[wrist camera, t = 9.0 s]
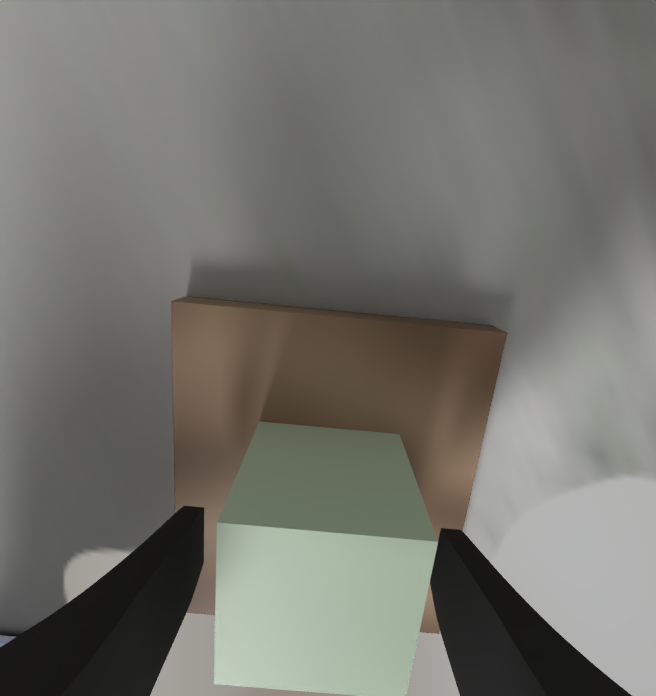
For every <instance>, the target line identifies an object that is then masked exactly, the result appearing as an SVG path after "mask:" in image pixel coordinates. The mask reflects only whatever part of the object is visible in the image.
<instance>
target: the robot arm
mask: <svg viewBox="0 0 656 696" xmlns="http://www.w3.org/2000/svg"><path fill="white" fill-rule="evenodd" d="M203 564H204V507H194V506H183V507H182V508H180V509H179V510H178V511H177V512H176V513H175V514H174V515H173V516H172V517H171V518H170V519H169V520H167V521H166V522H165V523H164V524H163V525H162V526H161V527H160V528H159V529H158V530H157V531H156V532H154V533H153V534H152V535H151V536H150V537H149V538H148V539H147V540H146V541H145V542H143V543H142V544H141V545H140V546H139V547H138V548H137V549H135V550H134V551H133V552H132V553H131V554H130V555H129V556H127V557H126V558H125V559H124V560H123V561H122V562H120V563H119V564H118V565H117V566H115V567H114V568H113V569H112V570H110V571H109V572H108V573H107V574H106V575H104V576H103V577H102V578H100V579H99V580H98V581H97V582H96V583H94V584H93V585H92V586H90V587H89V588H88V589H86V590H85V591H84V592H83V593H81V594H80V595H78V596H77V597H76V598H74V599H73V600H72V601H70V602H69V603H67V604H66V605H65V606H63V607H62V608H60V609H59V610H57V611H56V612H55V613H53V614H52V615H50V616H49V617H47V618H46V619H44V620H43V621H41V622H39V623H38V624H36V625H35V626H33V627H31V628H30V629H28V630H27V631H25V632H24V633H22V634H20V635H19V636H17V637H15V636H3V635H0V696H150V694H151V692H152V689H153V687H154V685H155V682H156V680H157V678H158V676H159V673H160V671H161V669H162V666H163V664H164V662H165V660H166V657H167V655H168V653H169V651H170V648H171V646H172V644H173V642H174V639H175V637H176V635H177V633H178V630H179V628H180V626H181V623H182V621H183V619H184V616H185V614H186V612H187V610H188V608H189V605H190V603H191V601H192V598H193V595H194V592H195V589H196V586H197V583H198V580H199V576H200V573H201V570H202V567H203ZM430 586H431V591H432V597H433V602H434V607H435V612H436V617H437V621H438V625H439V628H440V631H441V635H442V638H443V641H444V645H445V648H446V651H447V654H448V658H449V661H450V664H451V668H452V671H453V674H454V677H455V680H456V684H457V687H458V690H459V693H460V696H631V695H630V694H629V693H628V692H627V691H625V690H624V689H623V688H621V687H620V686H619V685H618V684H616V683H615V682H614V681H613V680H611V679H610V678H609V677H608V676H607V675H605V674H604V673H603V672H602V671H601V670H599V669H598V668H597V667H596V666H595V665H593V664H592V663H591V662H590V661H589V660H587V659H586V658H585V657H584V656H583V655H582V654H581V653H580V652H579V651H577V650H576V649H575V648H574V647H573V646H572V645H571V644H570V643H568V642H567V641H566V640H565V639H564V638H563V637H562V636H561V635H560V634H559V633H558V632H556V631H555V630H554V629H553V628H552V627H551V626H550V625H549V624H548V623H547V622H546V621H545V620H544V619H543V618H542V617H541V616H540V615H539V614H538V613H537V612H536V611H535V610H534V609H533V608H532V607H531V606H530V605H529V604H528V603H527V602H526V601H525V600H524V599H523V598H522V597H521V596H520V595H519V594H518V593H517V592H516V591H515V589H514V588H513V587H512V586H511V585H510V584H509V583H508V582H507V581H506V580H505V579H504V578H503V577H502V575H501V574H500V573H499V572H498V571H497V570H496V569H495V568H494V567H493V565H492V564H491V563H490V562H489V561H488V560H487V559H486V558H485V556H484V555H483V554H482V553H481V552H480V551H479V550H478V548H477V547H476V546H475V545H474V544H473V543H472V542H471V540H470V539H469V538H468V537H467V536H466V535H465V534H464V533H463V531H462V530H459V529H447V528H441V530H440V535H439V540H438V545H437V550H436V554H435V559H434V564H433V569H432V574H431V578H430Z"/></svg>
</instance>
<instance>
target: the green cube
mask: <svg viewBox="0 0 656 696" xmlns="http://www.w3.org/2000/svg"><path fill="white" fill-rule="evenodd" d="M437 545H438V540H437V537H436V534H435V532H434V529H433V526H432V523H431V520H430V518H429V515H428V512H427V509H426V506H425V504H424V501H423V498H422V495H421V493H420V490H419V487H418V484H417V481H416V479H415V476H414V473H413V470H412V467H411V465H410V462H409V459H408V456H407V453H406V451H405V448H404V445H403V442H402V439H401V437H400V434H392V433H381V432H370V431H359V430H348V429H337V428H326V427H315V426H304V425H293V424H282V423H271V422H260V421H259V423H258V425H257V428H256V430H255V433H254V435H253V437H252V440H251V442H250V445H249V447H248V449H247V452H246V454H245V457H244V459H243V461H242V464H241V466H240V468H239V471H238V473H237V476H236V478H235V480H234V483H233V485H232V488H231V490H230V492H229V495H228V497H227V500H226V502H225V504H224V507H223V509H222V512H221V514H220V516H219V519H218V521H217V544H216V598H215V652H214V684H221V685H233V686H245V687H258V688H270V689H282V690H296V691H307V692H321V693H332V694H345V695H356V696H406V693H407V689H408V684H409V679H410V674H411V669H412V665H413V660H414V655H415V650H416V646H417V641H418V635H419V631H420V626H421V622H422V617H423V612H424V607H425V602H426V598H427V593H428V588H429V583H430V578H431V574H432V569H433V564H434V559H435V554H436V550H437Z"/></svg>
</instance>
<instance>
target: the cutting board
mask: <svg viewBox="0 0 656 696" xmlns="http://www.w3.org/2000/svg"><path fill="white" fill-rule="evenodd" d="M171 306H172V363H173V421H174V479H175V513H176V512H177V511H178V510H179V509H180V508H182V507H183V506H194V507H204V564H203V567H202V570H201V573H200V576H199V580H198V583H197V586H196V589H195V592H194V595H193V598H192V601H191V603H190V605H189V608H188V610H187V612H186V613H196V614H209V615H215V598H216V544H217V521H218V519H219V516H220V514H221V512H222V509H223V507H224V504H225V502H226V500H227V497H228V495H229V492H230V490H231V488H232V485H233V483H234V480H235V478H236V476H237V473H238V471H239V468H240V466H241V464H242V461H243V459H244V457H245V454H246V452H247V449H248V447H249V445H250V442H251V440H252V437H253V435H254V433H255V430H256V428H257V425H258V423H259V421H260V422H271V423H282V424H293V425H304V426H315V427H326V428H337V429H348V430H359V431H370V432H381V433H392V434H400V437H401V439H402V442H403V445H404V448H405V451H406V453H407V456H408V459H409V462H410V465H411V467H412V470H413V473H414V476H415V479H416V481H417V484H418V487H419V490H420V493H421V495H422V498H423V501H424V504H425V506H426V509H427V512H428V515H429V518H430V520H431V523H432V526H433V529H434V532H435V534H436V537H437V540H439V535H440V530H441V528H447V529H459V530H463V526H464V521H465V517H466V512H467V508H468V503H469V499H470V495H471V490H472V486H473V481H474V477H475V472H476V468H477V464H478V459H479V455H480V450H481V446H482V441H483V437H484V433H485V428H486V424H487V419H488V415H489V411H490V406H491V402H492V397H493V393H494V388H495V384H496V380H497V375H498V371H499V366H500V362H501V357H502V353H503V349H504V344H505V340H506V335H507V333H506V332H504V331H502V330H500V329H498V328H496V327H494V326H491V325H481V324H470V323H459V322H449V321H438V320H428V319H417V318H407V317H396V316H385V315H375V314H364V313H354V312H343V311H333V310H322V309H312V308H301V307H290V306H280V305H269V304H259V303H248V302H238V301H227V300H216V299H206V298H195V297H183V298H180V299H177V300H174V301H171ZM419 632H425V633H437V634H438V633H439V632H440V628H439V625H438V621H437V617H436V612H435V607H434V602H433V597H432V591H431V586H430V583H429V588H428V593H427V598H426V602H425V607H424V612H423V617H422V622H421V626H420V631H419Z"/></svg>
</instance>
